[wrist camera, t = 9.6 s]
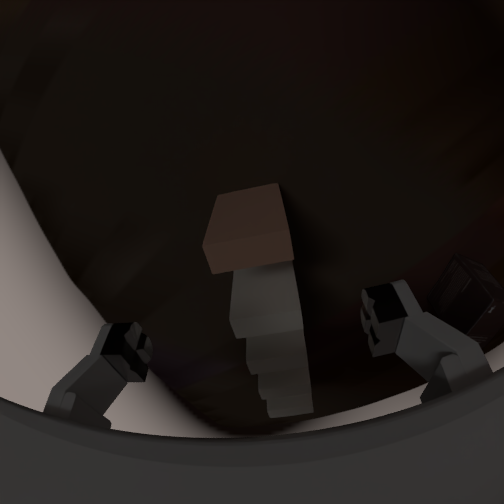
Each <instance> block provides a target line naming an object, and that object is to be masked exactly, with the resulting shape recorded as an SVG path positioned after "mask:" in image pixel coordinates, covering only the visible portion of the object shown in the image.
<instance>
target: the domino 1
mask: <svg viewBox="0 0 504 504" xmlns="http://www.w3.org/2000/svg"><path fill="white" fill-rule="evenodd" d="M202 247H203V249H204V252H205V255H206V258H207V260H208V263H209V266H210V269H211V271H212V274H216V273H222V272H228V271H234V270H239V269H245V268H251V267H256V266H262V265H267V264H273V263H279V262H284V261H290V260H294V255H293V249H292V243H291V237H290V232H289V227H288V222H287V218H286V214H285V210H284V205H283V201H282V197H281V193H280V189H279V185H278V183H274V184H269V185H264V186H259V187H254V188H249V189H244V190H240V191H235V192H230V193H226V194H221V195H218V196H217V199H216V202H215V205H214V209H213V212H212V215H211V218H210V222H209V225H208V228H207V232H206V235H205V239H204V242H203V245H202Z"/></svg>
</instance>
